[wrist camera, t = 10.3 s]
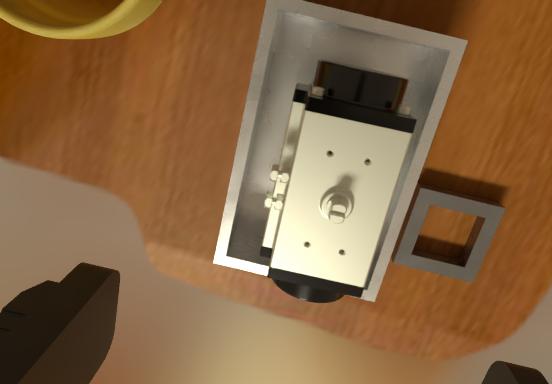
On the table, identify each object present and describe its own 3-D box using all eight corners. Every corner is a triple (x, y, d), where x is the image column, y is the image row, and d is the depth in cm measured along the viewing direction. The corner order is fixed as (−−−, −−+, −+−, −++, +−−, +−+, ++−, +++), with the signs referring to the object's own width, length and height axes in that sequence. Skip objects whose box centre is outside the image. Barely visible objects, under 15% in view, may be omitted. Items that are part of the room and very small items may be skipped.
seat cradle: (275, 0, 28) (268, -9, 23) (442, 41, 28) (467, 40, 23) (226, 232, 33) (213, 262, 29) (365, 266, 33) (374, 301, 29)
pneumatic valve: (385, 69, 28) (436, 87, 16) (340, 232, 32) (355, 337, 20) (301, 51, 28) (293, 56, 16) (266, 216, 32) (240, 311, 20)
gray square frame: (416, 182, 31) (420, 187, 30) (498, 202, 31) (505, 208, 30) (390, 255, 33) (393, 263, 32) (467, 274, 33) (473, 282, 32)
